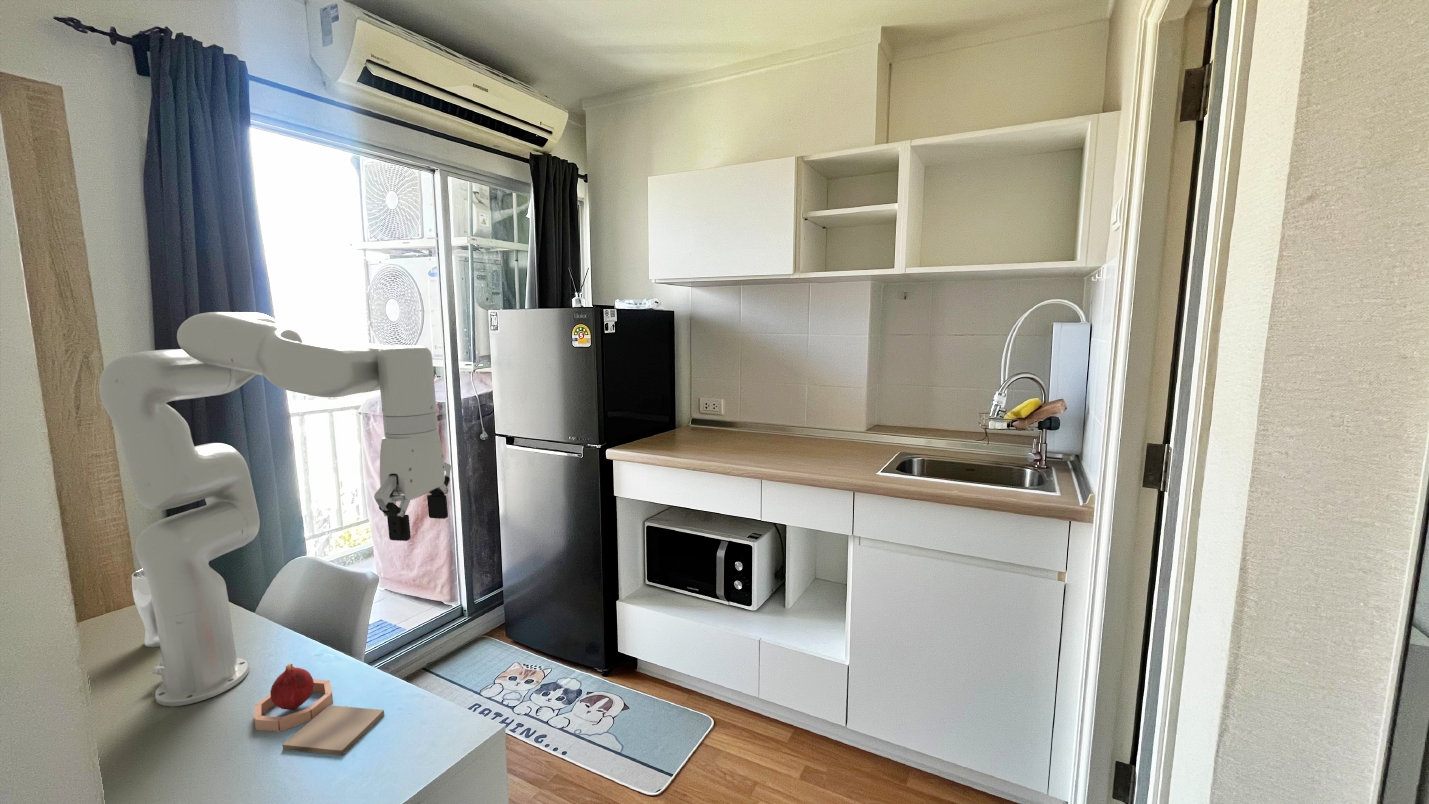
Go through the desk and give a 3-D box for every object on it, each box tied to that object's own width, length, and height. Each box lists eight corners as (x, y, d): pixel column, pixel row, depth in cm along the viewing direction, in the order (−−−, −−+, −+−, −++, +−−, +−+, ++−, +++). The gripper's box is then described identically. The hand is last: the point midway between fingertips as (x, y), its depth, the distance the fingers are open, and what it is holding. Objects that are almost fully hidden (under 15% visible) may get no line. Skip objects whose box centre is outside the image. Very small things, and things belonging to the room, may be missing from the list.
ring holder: (238, 727, 92) (237, 717, 91) (293, 686, 102) (292, 677, 101) (296, 733, 90) (295, 723, 90) (346, 691, 100) (345, 681, 100)
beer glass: (183, 626, 122) (173, 560, 120) (192, 636, 118) (181, 568, 116) (138, 641, 117) (126, 572, 115) (145, 652, 113) (134, 581, 110)
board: (282, 749, 87) (282, 744, 87) (329, 709, 96) (329, 705, 96) (342, 755, 86) (341, 750, 85) (384, 714, 94) (383, 709, 94)
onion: (323, 703, 97) (318, 659, 96) (286, 724, 92) (280, 679, 91) (302, 694, 100) (297, 651, 99) (265, 714, 95) (259, 670, 93)
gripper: (423, 414, 99) (431, 509, 101) (347, 435, 82) (359, 548, 84) (464, 415, 98) (471, 511, 100) (395, 436, 81) (406, 550, 83)
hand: (420, 528), depth 92 cm, fingers open, 9 cm apart
